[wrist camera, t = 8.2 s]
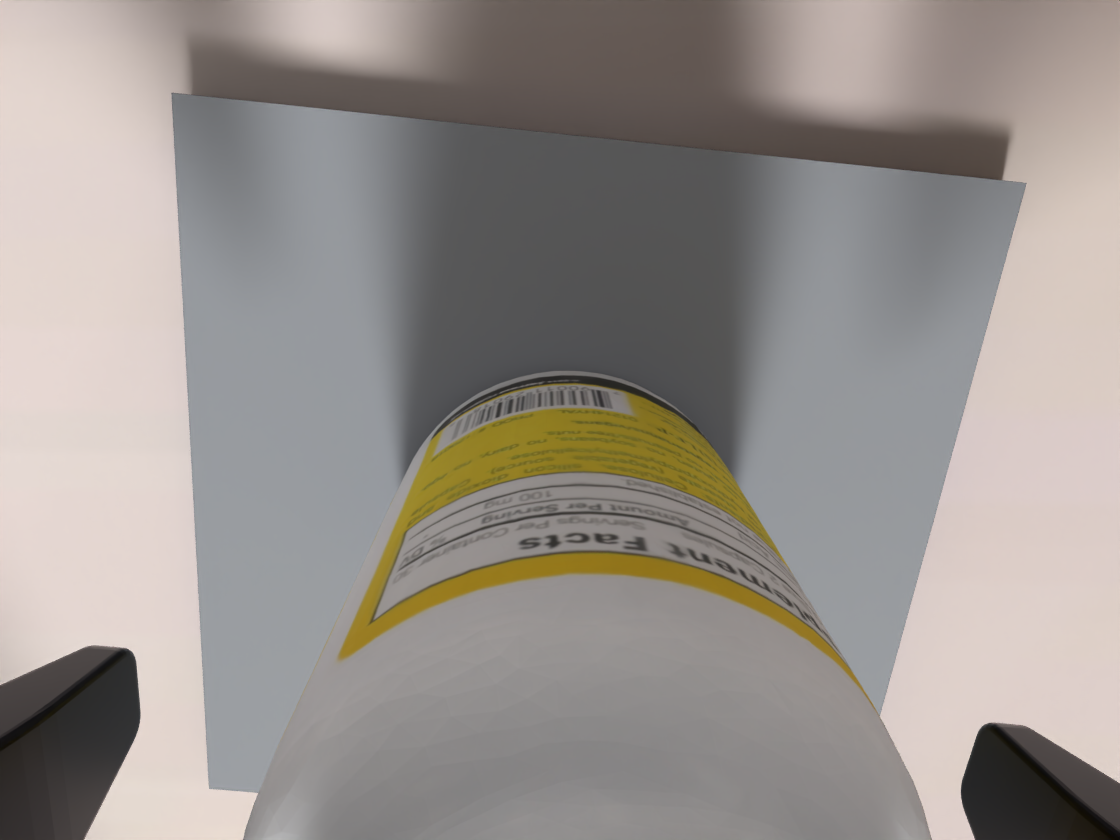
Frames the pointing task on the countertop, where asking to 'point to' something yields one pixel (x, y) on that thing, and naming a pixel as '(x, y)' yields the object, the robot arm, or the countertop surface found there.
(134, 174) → the countertop surface
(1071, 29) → the countertop surface
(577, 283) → the mat
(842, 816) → the supplement bottle
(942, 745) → the countertop surface
